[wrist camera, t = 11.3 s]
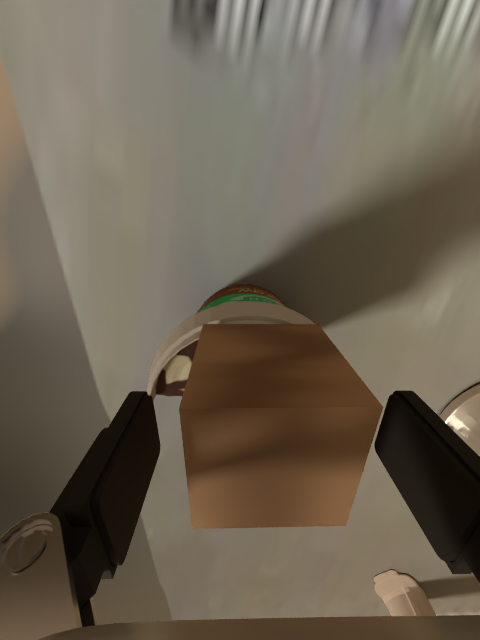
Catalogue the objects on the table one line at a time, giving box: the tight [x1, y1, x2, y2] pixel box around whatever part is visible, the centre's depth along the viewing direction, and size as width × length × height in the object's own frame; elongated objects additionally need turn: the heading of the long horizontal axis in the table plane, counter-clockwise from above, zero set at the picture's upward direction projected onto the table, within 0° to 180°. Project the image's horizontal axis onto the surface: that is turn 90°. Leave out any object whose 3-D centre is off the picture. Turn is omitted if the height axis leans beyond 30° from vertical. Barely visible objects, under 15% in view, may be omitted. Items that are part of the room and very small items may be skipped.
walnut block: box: [179, 324, 383, 529], centre depth 10 cm, size 6×6×6 cm
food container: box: [147, 285, 315, 399], centre depth 17 cm, size 12×6×10 cm, turn 82°
